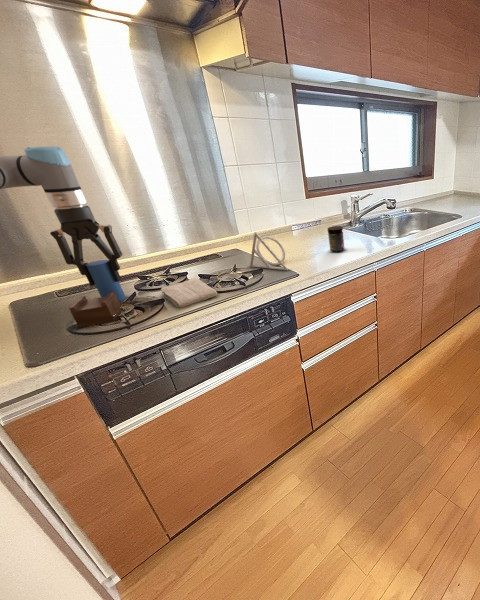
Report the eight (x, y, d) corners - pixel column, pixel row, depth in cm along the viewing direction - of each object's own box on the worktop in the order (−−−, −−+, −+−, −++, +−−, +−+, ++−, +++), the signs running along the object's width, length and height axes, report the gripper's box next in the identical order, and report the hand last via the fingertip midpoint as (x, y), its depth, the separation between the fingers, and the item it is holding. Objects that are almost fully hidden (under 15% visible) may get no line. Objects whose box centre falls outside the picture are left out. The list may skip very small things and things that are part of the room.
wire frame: (283, 267, 144) (304, 254, 135) (265, 283, 134) (287, 270, 126) (253, 234, 137) (275, 218, 128) (233, 248, 127) (254, 232, 119)
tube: (105, 263, 98) (111, 258, 102) (82, 266, 96) (89, 261, 100) (123, 302, 104) (128, 295, 108) (101, 305, 102) (107, 298, 106)
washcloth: (197, 283, 116) (195, 275, 115) (220, 296, 106) (217, 288, 104) (159, 294, 108) (156, 286, 107) (180, 310, 98) (176, 301, 96)
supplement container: (342, 253, 144) (340, 230, 140) (328, 252, 145) (325, 229, 141) (346, 248, 150) (344, 226, 146) (332, 248, 151) (330, 226, 147)
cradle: (89, 315, 96) (80, 296, 93) (122, 309, 99) (114, 291, 96) (78, 327, 89) (68, 307, 87) (114, 321, 92) (105, 301, 90)
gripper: (20, 212, 85) (63, 292, 95) (107, 205, 92) (138, 280, 102) (34, 207, 91) (73, 283, 101) (115, 201, 98) (144, 273, 108)
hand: (106, 281), depth 102 cm, fingers closed on tube, 6 cm apart
